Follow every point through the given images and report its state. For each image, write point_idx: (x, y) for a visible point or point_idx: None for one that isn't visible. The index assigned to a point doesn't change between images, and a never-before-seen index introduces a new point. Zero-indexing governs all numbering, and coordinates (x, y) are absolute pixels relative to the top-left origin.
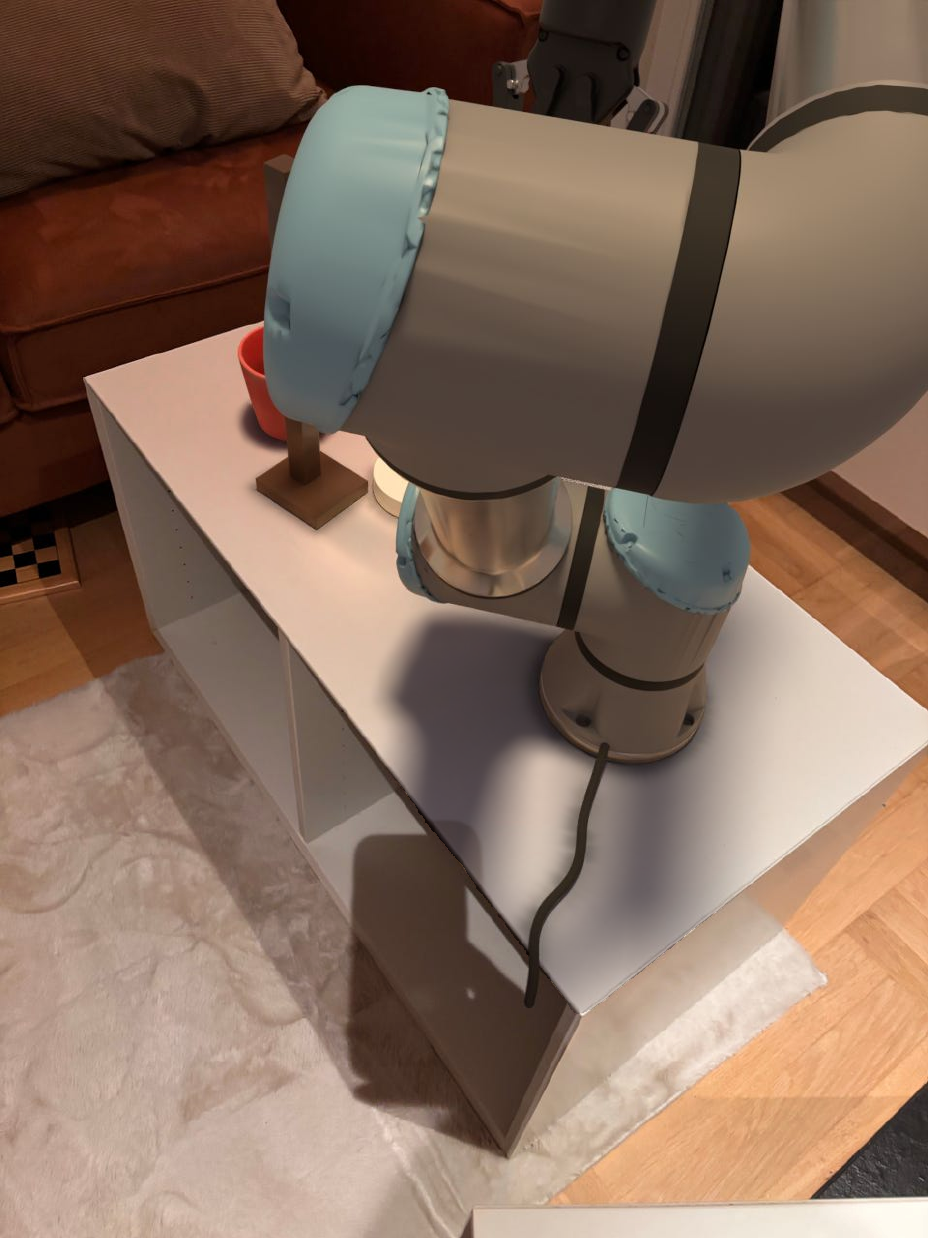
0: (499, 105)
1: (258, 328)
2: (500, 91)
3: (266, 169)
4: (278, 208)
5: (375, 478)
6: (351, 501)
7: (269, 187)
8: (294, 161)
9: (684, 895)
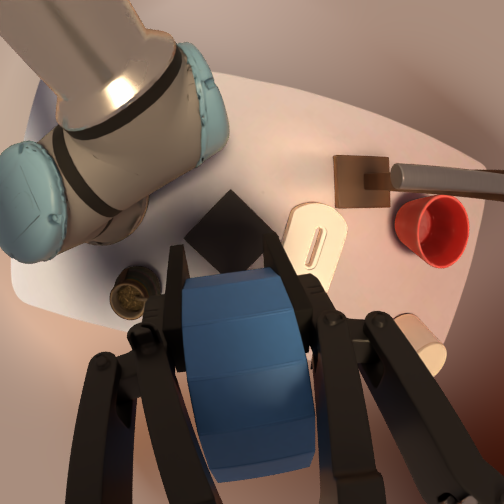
0: (464, 459)
1: (468, 234)
2: (478, 478)
3: None
4: None
5: (334, 209)
6: (335, 190)
7: None
8: None
9: (32, 131)
